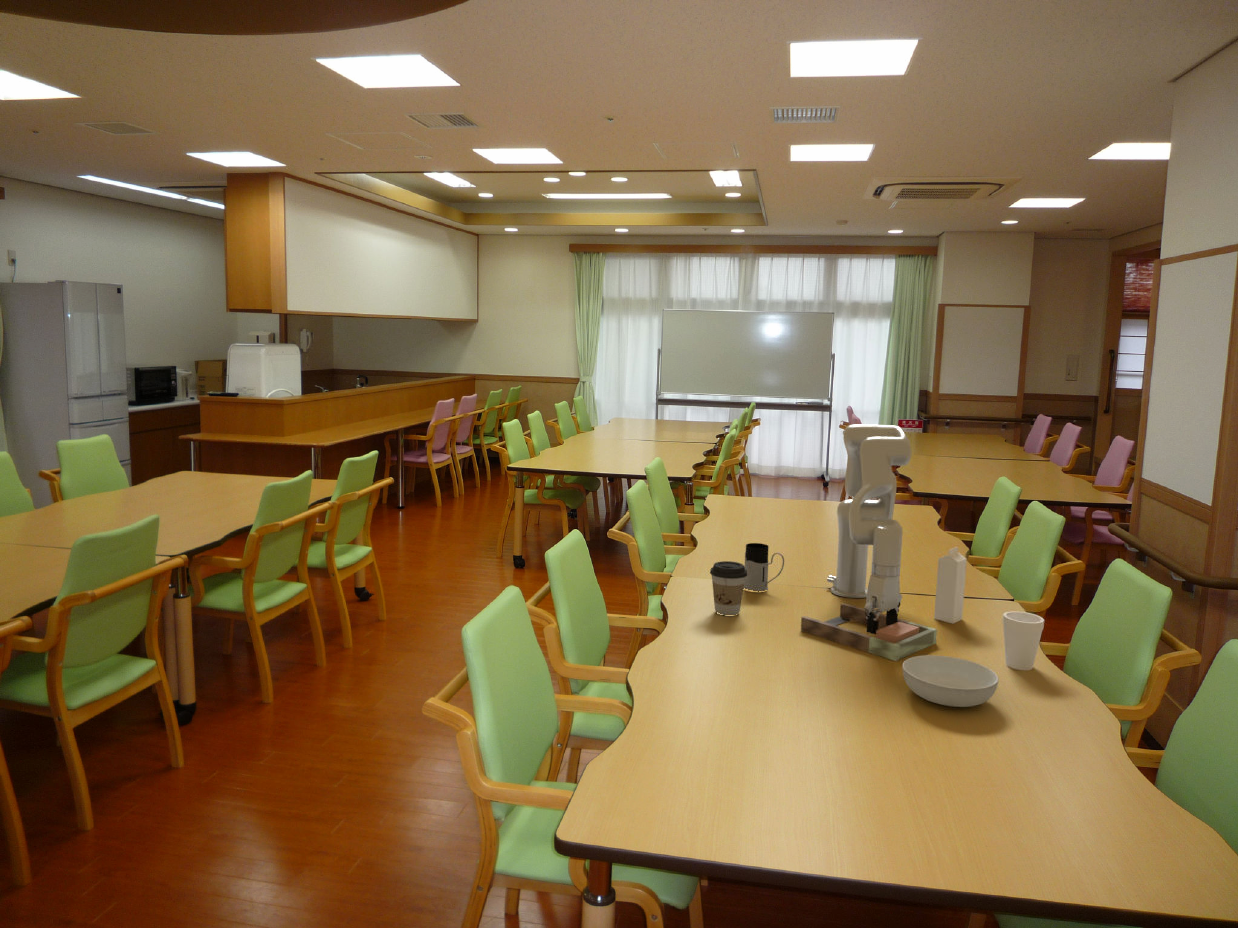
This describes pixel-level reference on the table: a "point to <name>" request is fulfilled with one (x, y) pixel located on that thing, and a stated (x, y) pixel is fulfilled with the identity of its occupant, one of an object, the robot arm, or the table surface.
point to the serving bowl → (949, 680)
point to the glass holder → (758, 566)
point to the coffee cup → (728, 586)
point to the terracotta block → (897, 632)
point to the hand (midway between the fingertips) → (881, 629)
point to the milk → (950, 587)
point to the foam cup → (1021, 638)
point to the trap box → (864, 641)
